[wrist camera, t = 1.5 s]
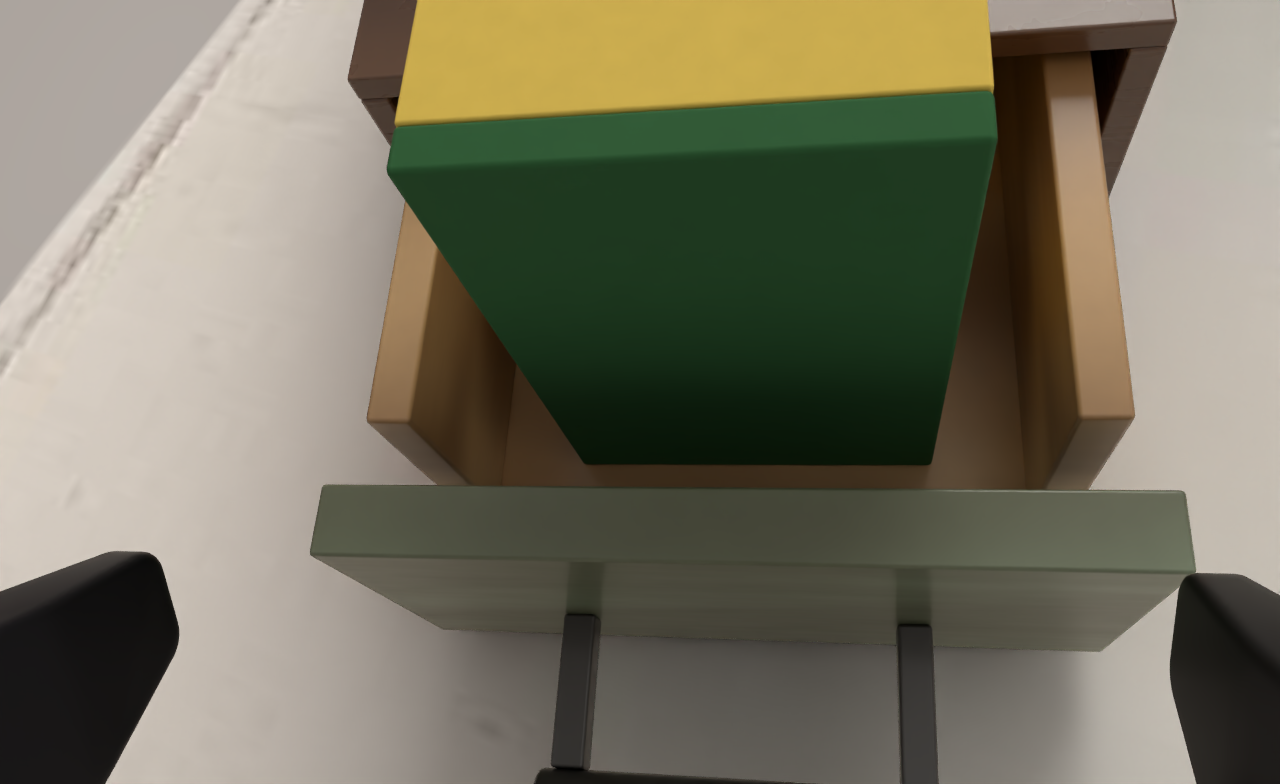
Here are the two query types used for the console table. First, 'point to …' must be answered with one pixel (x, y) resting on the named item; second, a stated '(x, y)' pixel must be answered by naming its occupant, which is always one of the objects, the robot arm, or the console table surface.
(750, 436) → the sponge
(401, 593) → the drawer
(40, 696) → the robot arm
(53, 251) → the console table surface
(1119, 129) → the cabinet
